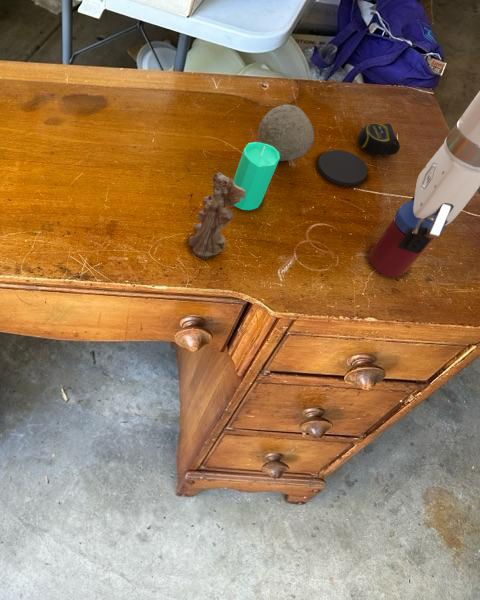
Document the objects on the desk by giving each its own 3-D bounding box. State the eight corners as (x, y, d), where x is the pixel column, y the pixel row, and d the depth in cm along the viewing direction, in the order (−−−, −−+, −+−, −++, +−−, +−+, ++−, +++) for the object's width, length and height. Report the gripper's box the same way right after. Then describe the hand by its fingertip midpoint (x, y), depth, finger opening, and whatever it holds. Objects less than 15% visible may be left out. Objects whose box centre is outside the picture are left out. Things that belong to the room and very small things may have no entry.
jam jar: (410, 255, 96) (445, 213, 88) (404, 282, 93) (439, 241, 85) (372, 241, 98) (402, 198, 89) (365, 267, 95) (395, 225, 86)
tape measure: (394, 160, 110) (404, 145, 107) (359, 158, 110) (367, 143, 107) (385, 136, 114) (394, 121, 111) (351, 134, 114) (359, 119, 110)
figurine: (176, 237, 97) (193, 172, 85) (203, 223, 99) (224, 157, 87) (204, 266, 94) (226, 202, 81) (231, 251, 96) (257, 187, 83)
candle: (221, 196, 103) (238, 144, 93) (243, 181, 105) (262, 129, 95) (246, 215, 101) (267, 164, 91) (268, 200, 103) (290, 148, 93)
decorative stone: (242, 146, 111) (256, 103, 103) (275, 132, 113) (292, 89, 105) (276, 179, 106) (294, 136, 98) (310, 164, 108) (331, 121, 100)
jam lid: (395, 235, 86) (400, 227, 85) (393, 203, 90) (398, 195, 89) (442, 245, 85) (448, 238, 84) (438, 212, 89) (444, 205, 88)
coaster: (371, 163, 109) (372, 160, 108) (358, 192, 105) (360, 189, 104) (325, 146, 111) (326, 143, 111) (311, 174, 107) (312, 171, 106)
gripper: (452, 98, 80) (391, 189, 95) (446, 177, 71) (379, 264, 86) (509, 112, 79) (438, 203, 93) (510, 195, 69) (431, 281, 84)
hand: (410, 231), depth 89 cm, fingers closed on jam lid, 6 cm apart
